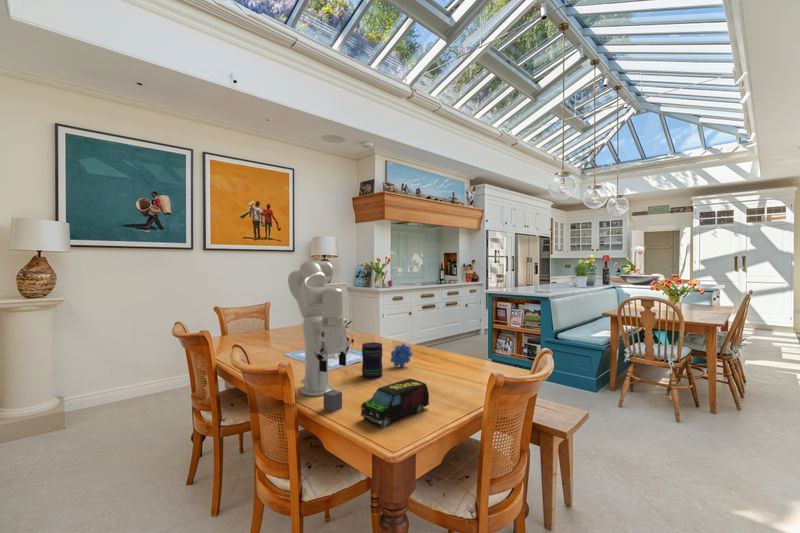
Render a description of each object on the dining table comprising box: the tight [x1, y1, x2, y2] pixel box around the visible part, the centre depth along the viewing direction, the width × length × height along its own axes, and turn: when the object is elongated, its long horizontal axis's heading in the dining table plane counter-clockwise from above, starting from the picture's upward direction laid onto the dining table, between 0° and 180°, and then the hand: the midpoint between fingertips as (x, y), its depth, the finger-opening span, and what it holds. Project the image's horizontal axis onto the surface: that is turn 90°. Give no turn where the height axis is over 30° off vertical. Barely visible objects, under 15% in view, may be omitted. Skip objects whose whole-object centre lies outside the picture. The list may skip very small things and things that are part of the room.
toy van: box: [360, 378, 430, 428], centre depth 126 cm, size 11×25×10 cm, turn 133°
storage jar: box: [361, 341, 384, 380], centre depth 170 cm, size 10×10×15 cm
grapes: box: [390, 343, 413, 367], centre depth 186 cm, size 12×7×12 cm, turn 100°
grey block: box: [323, 389, 343, 413], centre depth 131 cm, size 5×4×6 cm
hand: (333, 368), depth 131 cm, fingers open, 9 cm apart
